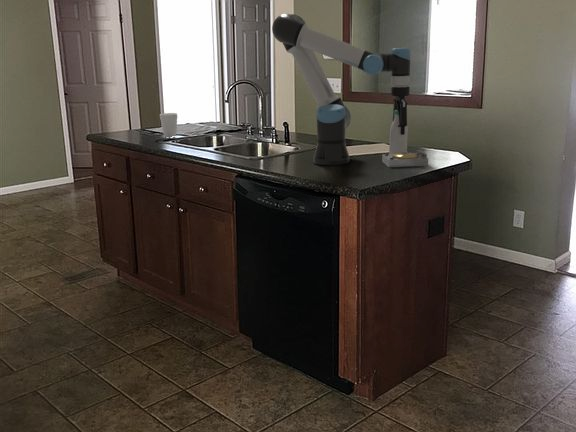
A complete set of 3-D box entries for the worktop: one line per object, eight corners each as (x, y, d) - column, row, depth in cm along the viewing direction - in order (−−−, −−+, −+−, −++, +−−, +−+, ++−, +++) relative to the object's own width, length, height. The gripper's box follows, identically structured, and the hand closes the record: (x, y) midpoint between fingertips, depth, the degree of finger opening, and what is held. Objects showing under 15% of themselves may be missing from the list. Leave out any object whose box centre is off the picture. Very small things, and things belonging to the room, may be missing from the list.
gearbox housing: (388, 167, 242) (388, 156, 241) (382, 161, 254) (382, 150, 252) (428, 165, 243) (428, 154, 242) (419, 159, 255) (420, 149, 253)
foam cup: (159, 139, 332) (157, 115, 328) (165, 136, 341) (163, 113, 337) (175, 138, 330) (173, 114, 327) (181, 136, 339) (179, 112, 336)
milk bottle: (406, 158, 258) (408, 111, 251) (388, 158, 260) (389, 111, 253) (407, 154, 265) (409, 108, 258) (390, 154, 267) (391, 108, 260)
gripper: (415, 87, 244) (414, 144, 251) (403, 83, 263) (402, 136, 270) (397, 88, 244) (396, 144, 250) (386, 84, 263) (385, 137, 270)
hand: (399, 140), depth 260 cm, fingers closed on milk bottle, 7 cm apart
